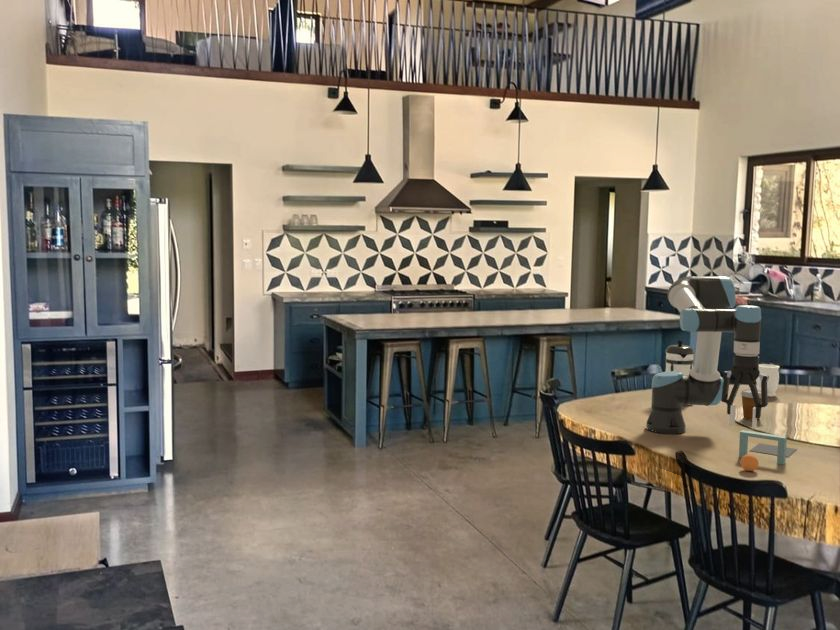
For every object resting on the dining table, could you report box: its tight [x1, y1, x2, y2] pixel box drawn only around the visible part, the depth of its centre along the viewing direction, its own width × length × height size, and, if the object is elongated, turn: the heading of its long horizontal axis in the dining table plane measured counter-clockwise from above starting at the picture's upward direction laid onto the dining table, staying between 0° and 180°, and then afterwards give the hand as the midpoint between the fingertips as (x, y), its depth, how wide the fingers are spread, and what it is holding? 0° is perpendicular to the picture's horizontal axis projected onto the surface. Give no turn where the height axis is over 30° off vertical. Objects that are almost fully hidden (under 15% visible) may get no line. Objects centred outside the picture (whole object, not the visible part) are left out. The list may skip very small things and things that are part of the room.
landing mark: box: [749, 442, 798, 458], centre depth 278 cm, size 13×13×1 cm
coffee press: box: [664, 339, 695, 376], centre depth 359 cm, size 17×16×30 cm
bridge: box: [738, 430, 788, 466], centre depth 265 cm, size 14×3×9 cm, turn 52°
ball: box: [740, 453, 760, 472], centre depth 253 cm, size 6×6×6 cm
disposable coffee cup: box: [740, 388, 762, 420], centre depth 327 cm, size 10×10×12 cm
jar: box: [755, 363, 781, 398], centre depth 378 cm, size 11×10×15 cm
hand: (743, 426), depth 244 cm, fingers open, 6 cm apart
